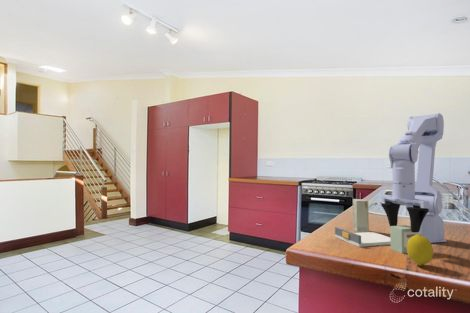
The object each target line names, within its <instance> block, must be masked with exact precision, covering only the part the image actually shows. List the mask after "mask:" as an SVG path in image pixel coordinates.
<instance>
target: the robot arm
mask: <svg viewBox="0 0 470 313" xmlns="http://www.w3.org/2000/svg"><path fill="white" fill-rule="evenodd" d="M406 125H407V126H406V127H407V130H408V131H405V132H404V133H403V134H402V136H401V137H400V138H399V140H398V141H397V143H396V144H393V145H392V146H390V147H389V151H388V158H389V161H390V168H391V169H392V172H391V173H392V195H381V207H382V209H383V210H384V212H385V214H386V217H387V220H388V224H389V227H390V226H398V219H399V218H398V216H399V210H400V207H401V205H404V206H405V207H404V208H405V209H406V211H407V212H408V214H409V215H408V216H409V219H410V226H411V231H412V232H418V234H421V235H422V236H424V237H426V238H427V239H428V240H429V241H430V242H431V244H435V243H447V242H448V241H447V240H446V239H445V223H444V220H443V218H442V217H441V215H440V214H441V213H442V211H443V200H442V198H443V197H442V193H441V192H440V191H439V190H438V189H437V188H435V187H434V186H433V183H434V169H435V168H434V166H435V156H436V147H437V142H438V141H440V140H442V139H443V135H444V127H445V123H444V117H443V114H442V113H440V112H438V113H434V114H425V115H417V116H415V115H414V116H409V118H407V124H406ZM416 162H417V169H416V167H415V166H416V165H415V163H416ZM415 169H416V170H415Z"/></svg>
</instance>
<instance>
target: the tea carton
mask: <svg viewBox="0 0 470 313" xmlns="http://www.w3.org/2000/svg"><path fill="white" fill-rule="evenodd" d="M389 228H390V229H389V230H390V235H389V237H390V250H391V249H392V250H391V251H394V250H395V251H394V252H396V251H397V253H399V252H400V254H408V253H407V243H408V240H409V239H410V238H411V237H412V236H414V235H417V234H418V232H412V231H411V225H406V224H405V225H397V226H390V225H389Z"/></svg>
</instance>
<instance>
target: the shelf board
mask: <svg viewBox="0 0 470 313" xmlns="http://www.w3.org/2000/svg"><path fill="white" fill-rule="evenodd" d="M334 238H337V239H339V240H342V241H343V242H346V243H348V244H351V245H353V246H355V247H358V248H362V247H376V246H377V245H378V246H388V245H390V236H387V235H383V234H381V233H378V232H375V231H369V232H362V233H357V232H353V231H352V232H351V231H348V230H346V229H344V228H341V227H337V226H335V227H334ZM390 246H391V245H390Z"/></svg>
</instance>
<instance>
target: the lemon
mask: <svg viewBox="0 0 470 313" xmlns="http://www.w3.org/2000/svg"><path fill="white" fill-rule="evenodd" d="M432 244H433V243H431V242H430V241H429V240H428V239H427V238H426V237H424V236H422V235H421V234H417V235H414V236H412V237H411V238H410V239H409V240H408V243H407V253H406V254H407V256H408V257H409V259H410V260H412V261H413V262H414V263H415V264H416V265H418V267H419V266H420V267H422V266H423V265H425V264H428V263H430V262H431V261H432V259H433V257H434V247H433V245H432Z"/></svg>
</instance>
